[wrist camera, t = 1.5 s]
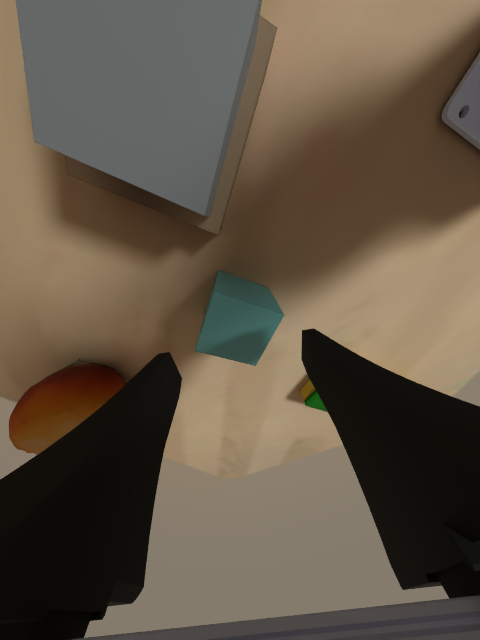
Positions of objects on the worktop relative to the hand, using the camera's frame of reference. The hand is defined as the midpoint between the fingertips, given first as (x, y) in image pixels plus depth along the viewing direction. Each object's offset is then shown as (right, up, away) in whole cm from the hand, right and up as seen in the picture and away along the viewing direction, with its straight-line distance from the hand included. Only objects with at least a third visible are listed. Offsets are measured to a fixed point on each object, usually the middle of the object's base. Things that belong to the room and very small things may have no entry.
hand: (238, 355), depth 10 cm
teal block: (0, +4, +6) cm, 7 cm away
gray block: (-4, +12, -2) cm, 12 cm away
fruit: (-16, -5, +10) cm, 19 cm away
